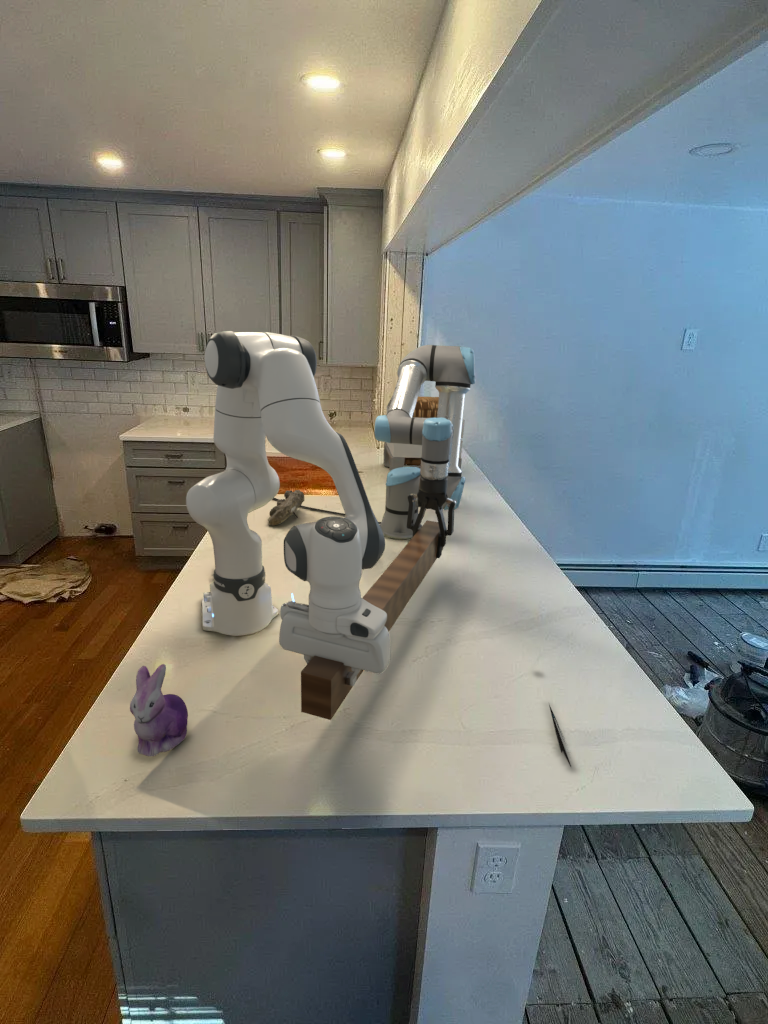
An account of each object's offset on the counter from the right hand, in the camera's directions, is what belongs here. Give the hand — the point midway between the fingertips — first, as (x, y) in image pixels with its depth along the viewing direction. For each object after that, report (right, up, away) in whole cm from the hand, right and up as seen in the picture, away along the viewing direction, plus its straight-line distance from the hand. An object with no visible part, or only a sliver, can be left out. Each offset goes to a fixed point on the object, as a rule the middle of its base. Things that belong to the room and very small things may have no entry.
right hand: (428, 554), depth 161 cm
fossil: (-48, +10, +49) cm, 70 cm away
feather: (+21, -29, -49) cm, 60 cm away
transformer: (+5, +31, +114) cm, 118 cm away
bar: (-11, -11, -29) cm, 33 cm away
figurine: (-52, -29, -59) cm, 84 cm away
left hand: (-22, -18, -60) cm, 66 cm away
